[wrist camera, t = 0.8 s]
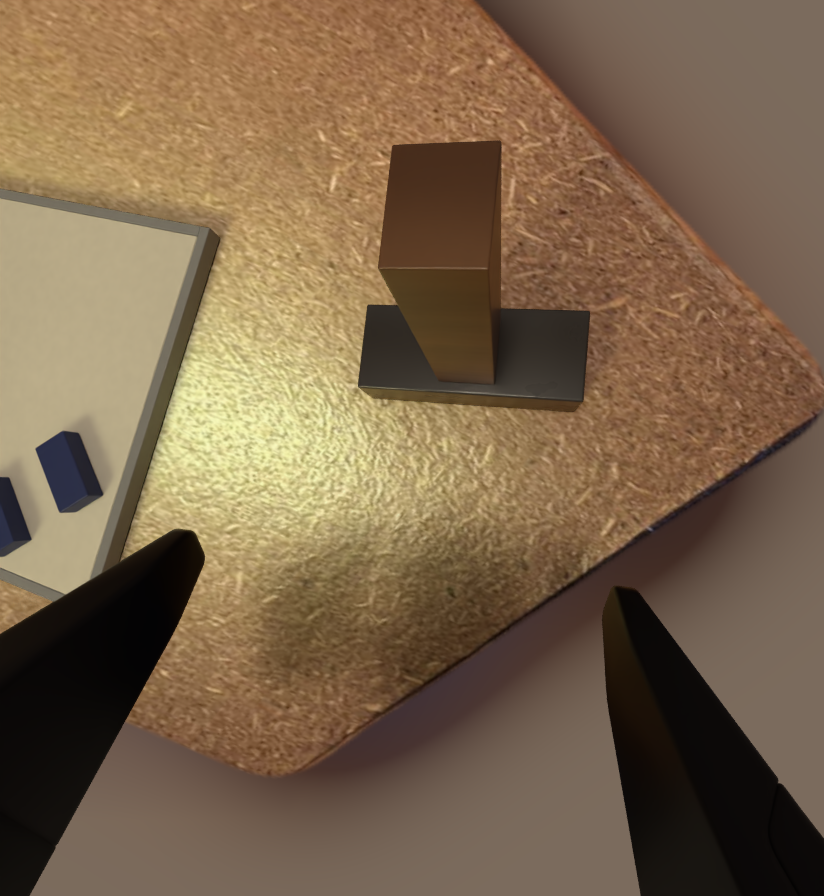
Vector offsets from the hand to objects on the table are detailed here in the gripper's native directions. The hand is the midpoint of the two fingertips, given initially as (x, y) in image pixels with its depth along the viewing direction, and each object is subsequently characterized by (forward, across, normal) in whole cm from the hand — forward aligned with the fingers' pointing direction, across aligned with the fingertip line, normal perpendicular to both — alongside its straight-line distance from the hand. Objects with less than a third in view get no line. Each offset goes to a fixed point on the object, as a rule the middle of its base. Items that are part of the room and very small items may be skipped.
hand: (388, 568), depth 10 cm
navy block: (+8, +25, +10) cm, 28 cm away
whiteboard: (+14, +26, +5) cm, 30 cm away
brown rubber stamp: (+15, -1, +2) cm, 15 cm away
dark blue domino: (+10, +20, +8) cm, 24 cm away
